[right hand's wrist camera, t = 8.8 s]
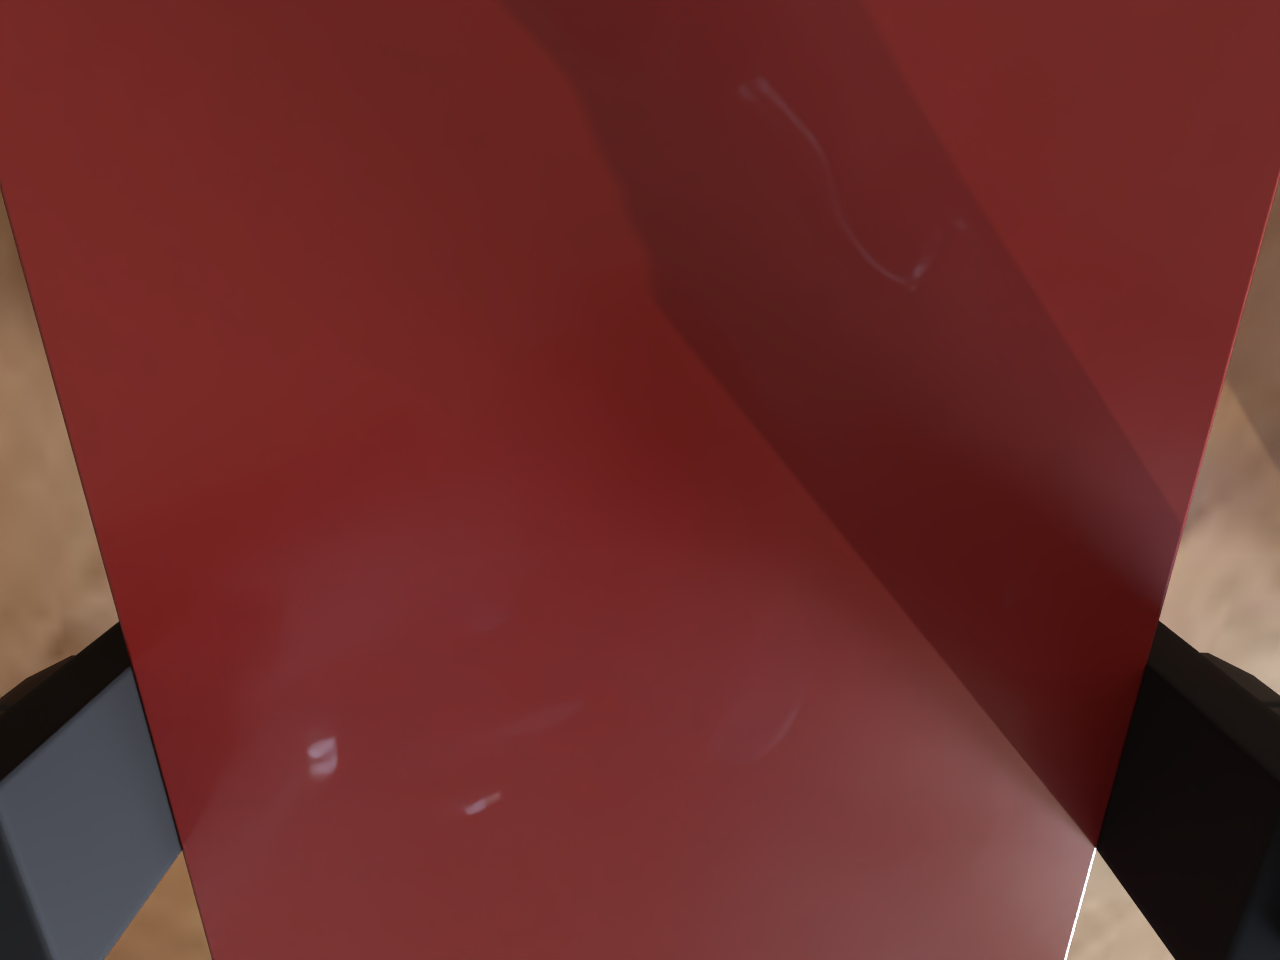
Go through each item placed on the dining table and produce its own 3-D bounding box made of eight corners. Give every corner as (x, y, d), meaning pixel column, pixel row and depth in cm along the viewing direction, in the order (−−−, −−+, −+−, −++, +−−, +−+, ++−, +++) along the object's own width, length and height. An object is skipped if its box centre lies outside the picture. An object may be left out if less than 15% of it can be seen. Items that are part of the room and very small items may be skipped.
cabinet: (365, -142, 15) (-354, -1072, 4) (911, -142, 15) (1625, -1066, 4) (441, 587, 21) (221, 1004, 10) (837, 587, 21) (1056, 1001, 10)
